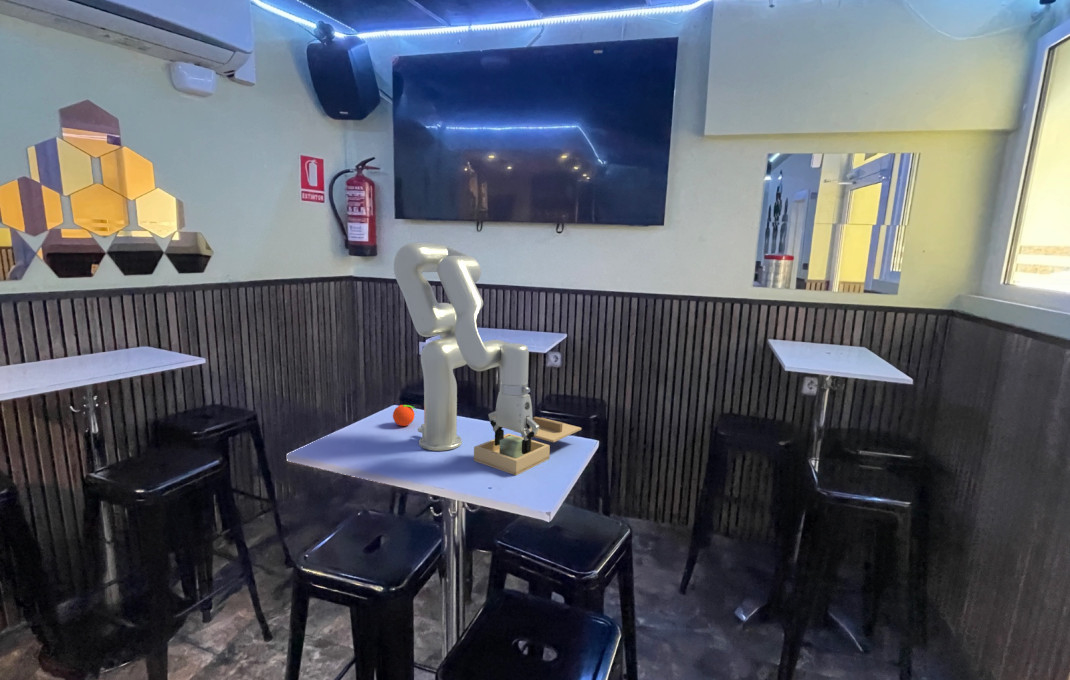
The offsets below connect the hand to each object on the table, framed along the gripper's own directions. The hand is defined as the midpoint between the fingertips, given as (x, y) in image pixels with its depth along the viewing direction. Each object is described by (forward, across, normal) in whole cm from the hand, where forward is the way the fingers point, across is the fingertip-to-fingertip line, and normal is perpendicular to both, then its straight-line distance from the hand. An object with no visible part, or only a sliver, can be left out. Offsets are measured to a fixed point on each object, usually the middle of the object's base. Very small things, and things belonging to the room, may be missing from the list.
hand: (512, 448), depth 145 cm
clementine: (+3, +45, 0) cm, 45 cm away
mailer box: (+3, 0, 0) cm, 3 cm away
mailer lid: (-1, 0, -17) cm, 17 cm away
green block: (+2, 0, 0) cm, 2 cm away
